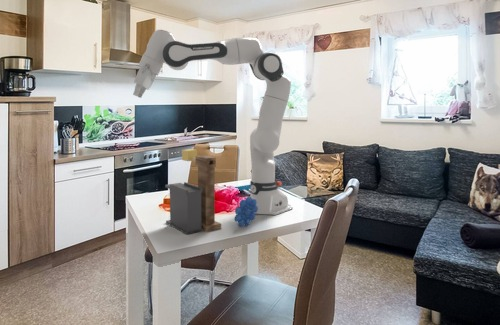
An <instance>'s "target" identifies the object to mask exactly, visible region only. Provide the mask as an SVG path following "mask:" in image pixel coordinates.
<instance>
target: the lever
mask: <svg viewBox="0 0 500 325" xmlns="http://www.w3.org/2000/svg"><path fill="white" fill-rule="evenodd" d="M234 187H235V188H238V189H239V190H240V191H246V192H248V193H250V194H251V190H250V184H246V185H239V186H234Z"/></svg>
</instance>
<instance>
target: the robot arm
mask: <svg viewBox="0 0 500 325" xmlns="http://www.w3.org/2000/svg"><path fill="white" fill-rule="evenodd" d="M262 48H263V47H262V44H261V42H260V40H259V39H257V38H253V37H233V38H226V39H223V40H220V41H219V40H218V41H215V42H210V43H209V42H208V43H192V44H191V43H190V44H189V43H185V42H181V41H179V40H178V41H177V40H176V39H175V37H174V35H173V33H171V32H170V31H168V30H163V29H156V30H155V31H154V32H153V33H152V34H151V36H150V38H149V40H148V43H147V45H146V49H145V52H144V53H143V54H142V57H141V59H140V61H139V63H138V66H139V69H138V71H137V73H136V75H135V77H134V84H135V86H134V91H133V96H135V97H138V98H142V97H143V95H144V94H145V92H146V90H148V91H149V90H150V89H151V87H152V85H153V83H154V82H155V79H156V77H157V76H158V75H159V74H160V73H161V70H162V67H163V65H164V64H166V65H167V66H168V67H169V68H170V69H172V70H174V71H182V70H185V69H186V67H187V66H188V64H189V62H194V61H202V60H213V61H217V62H219V63H220V64H222V65H229V66H231V65H232V66H234V65H241V64H248V65H249V66H250V69H251V71H252V73H253V75H254V77H255V78H256V79H258V80H260V81H265V83H266V88H265V89H266V90H265V92H264V96H263V99H262V102H261V106H260V109H259V115H258V120H257V121H258V122H257V127H256V128H255V129H253V130H252V132H251V133H250V135H249V144H250V146H249V148H250V149H249V150H250V161H251V162H250V163H251V173H250V174H251V177H250V178H251V180H250V183H249V185H250V189H249V190H250V191H251V193H250V196H249V197H251V198H252V199H255V200H256V201H257V203H256V206H258V210H257V212H255V215H270V216H272V215H273V216H277V215H279V214H282V213H284V212H288V211H291V210H293V208H294V207H293V205H291V204H289V199H288V195H287V194H285V193H284V192H283V191H281V190H280V189H279V188H278V187H281V186H282V184H283V183H282V181H279V180H278V181H276V163H275V162H276V161H275V156H274V152H275V151H276V150H277V149H278V147H279V146H280V137H281V132H282V126H283V125H282V124H283V118H284V116H285V112H286V110H287V109H286V108H287V106H288V103H289V99H290V94H291V87H292V83H291V82H292V81H291V79H290V78H289V77H288V76H286V75H284V68H283V67H284V66H283V62H282V59H281V57H280V56H279V55H278V54H276V53H275V52H270V51H269V52H264V51H263V49H262Z"/></svg>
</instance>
